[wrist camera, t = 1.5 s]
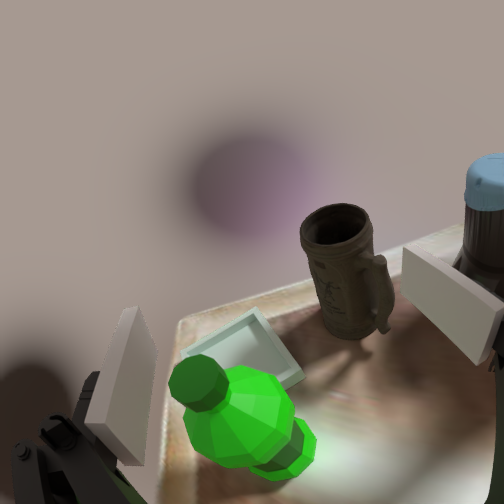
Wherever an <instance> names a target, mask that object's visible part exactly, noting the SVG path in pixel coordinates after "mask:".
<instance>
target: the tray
mask: <svg viewBox="0 0 504 504" xmlns="http://www.w3.org/2000/svg"><path fill="white" fill-rule="evenodd" d="M180 354H181V357H182V360H184V359H185V358H187V357H190V356H194V355H198V354H203V355H206V356H208V357H211V358H213V359H214V360H215V361H216V362H217V363H218V364H219V365H220V366H221V367H222V368H223V369H228V368H231V367H235V366H239V365H243V366H246V367H249V368H252V369H255V370H258V371H261V372H265V373H268V374H271V375H274V376H275V377H276V378H277V379H278V381H279V382H280V384H281V385H282V387H283V389H284V390H287V389H289V388H290V387H292V386H293V385H295V384H297V383H298V382H300V381H301V380H303V379H304V378H306V376H305V375H304V373H303V371H302V369H301V367H300V366H299V365H298V363H297V362H296V361H295V359H294V358H293V357H292V355H291V354H290V352H289V351H288V350H287V348H286V347H285V345H284V344H283V343H282V341H281V340H280V339H279V337H278V336H277V334H276V333H275V332H274V330H273V329H272V327H271V326H270V325H269V323H268V322H267V320H266V319H265V318H264V316H263V315H262V313H261V312H260V310H259V309H258V308H257V306H255V307H254V308H252V309H250V310H249V311H247V312H246V313H244V314H242V315H241V316H239V317H237V318H236V319H234V320H232V321H231V322H229V323H227V324H226V325H224V326H222V327H221V328H219V329H217V330H215V331H214V332H212V333H210V334H209V335H207V336H205V337H204V338H202V339H200V340H198V341H197V342H195V343H193V344H191V345H190V346H188V347H186V348H184V349H183V350H181V351H180Z"/></svg>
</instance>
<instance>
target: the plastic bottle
mask: <svg viewBox="0 0 504 504" xmlns="http://www.w3.org/2000/svg"><path fill="white" fill-rule="evenodd" d="M168 384H169V388H170V392H171V396H172V397H173V398H174V399H176V400H177V401H178V402H180V403H181V404H182V405H184V406H185V407H186V410H185V413H184V416H183V420H184V423H185V426H186V429H187V433H188V436H189V439H190V442H191V444H192V446H193V448H194V450H195V451H197V452H199V453H200V454H202V455H204V456H205V457H207V458H209V459H210V460H212V461H214V462H216V463H217V464H219V465H221V466H223V467H226V468H241V467H248V468H249V470H250V472H252V473H254V474H256V475H259V476H261V477H263V478H265V479H268V480H270V481H273V482H274V481H280V480H285V479H290V478H295V477H297V476H299V475H300V474H301V473H302V472H303V471H304V470H305V469H306V468H307V467H308V466H309V465H310V464H311V463H312V462H313V461H314V455H315V448H316V441H317V439H316V437H315V436H314V434H313V433H312V431H311V430H310V428H309V427H308V425H307V424H306V422H305V421H304V420H302V419H299V418H296V417H294V415H295V407H294V404H293V403H292V401H291V400H290V398H289V397H288V395H287V393H286V392H285V390H284V389H283V387H282V385H281V384H280V382H279V381H278V379H277V378H276V377H275V376H274V375H271V374H268V373H265V372H261V371H258V370H255V369H252V368H249V367H246V366H243V365H239V366H235V367H231V368H228V369H223V368H222V367H221V366H220V365H219V364H218V363H217V362H216V361H215V360H214V359H213V358H211V357H208V356H206V355H203V354H198V355H194V356H190V357H187V358H185V359H184V360H183V361H182V362H181V363H179V364H178V365H177V366H176V367H175V368H174V369H173V372H172V374H171V377H170V380H169V382H168Z"/></svg>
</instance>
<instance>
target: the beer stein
mask: <svg viewBox="0 0 504 504" xmlns="http://www.w3.org/2000/svg"><path fill="white" fill-rule="evenodd" d="M300 242H301V246H302V248H303V250H304V251H305V252H306V254H307V257H308V261H309V262H308V263H309V268H310V272H311V275H312V278H313V281H314V284H315V287H316V293H317V296H318V299H319V302H320V306H321V310H322V313H323V316H324V323H325V325H326V328H327V329H328V330H329V331H330V332H331V333H332V334H333V335H335V336H337V337H338V338H342V339H349V340H354V339H359V338H362V337H365V336H367V335H369V334H370V333H371V332H373V331H374V330H375V329H376V328H378V330H379V331H380V333H381V334H386V333H387V332H388V331H389V330H390V329H391V326H390V324H389V323H388V317H389V315H390V314H391V312H392V310H393V308H394V302H395V293H394V288H393V284H392V281H391V278H390V276H389V273H388V269H387V260H386V258H385V257H384V256H383V255H381V254H380V255H377V256H374V252H373V227H372V223H371V221H370V219H369V216H368V214H367V213H366V212H365V210H364V209H362V208H360V207H358V206H356V205H352V204H347V203H338V204H332V205H328V206H324V207H322V208H319V209H318V210H316V211H315V212H313V213H311V214H310V215H309V216H308V217H306V219H305V220H304V221H303V223H302V225H301V227H300Z"/></svg>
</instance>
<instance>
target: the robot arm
mask: <svg viewBox="0 0 504 504" xmlns="http://www.w3.org/2000/svg"><path fill="white" fill-rule="evenodd" d="M464 199H465V202H466V208H465V225H464V237H463V245H462V247H461V249H460V251H459V253H458V255H457V257H456V259H455V261H454V263H453V265H452V267H451V266H450V265H448V264H447V263H445V262H443V261H442V260H440V259H439V258H437V257H436V256H434V255H432V254H431V253H429V252H428V251H426V250H424V249H423V248H421V247H419V246H418V245H416V244H410V245H406V246H403V258H402V274H401V286H400V293H401V294H402V295H403V296H404V297H406V298H407V299H408V300H409V301H410V302H411V303H412V304H413V305H414V306H415V307H416V308H418V309H419V310H420V311H421V312H422V313H423V314H424V315H425V316H426V317H427V318H428V319H429V320H430V321H431V322H433V323H434V324H435V325H436V326H437V327H438V328H439V329H440V330H441V331H442V332H443V333H444V334H445V335H446V336H447V337H448V338H449V339H450V340H451V341H452V342H453V343H454V344H455V345H456V346H457V347H458V348H459V349H460V350H461V351H462V352H463V353H464V354H465V355H466V356H467V357H468V358H469V359H470V360H471V361H472V362H473V363H474V364H475V365H476V366H478V365H479V364H481V363H482V362H484V361H485V360H487V359H488V356H489V354H490V352H491V349H492V348H493V349H494V350H495V351H496V353H495V355H494V357H493V360H492V362H491V364H490V367H489V370H488V372H490V371H491V369H492V367H493V366H494V365H495V369H494V371H493V372H495V379H496V440H495V453H494V463H493V471H492V478H491V484H490V490H489V495H488V498H487V500H486V502H485V503H484V504H504V153H495V154H489V155H486V156H483V157H481V158H479V159H477V160H476V161H474V162H473V163H472V164H471V166H470V167H469V169H468V171H467V176H466V190H465V193H464ZM157 354H158V350H157V348H156V346H155V343H154V341H153V339H152V337H151V334H150V332H149V330H148V327H147V325H146V322H145V320H144V318H143V315H142V313H141V310H140V308H139V306H135V307H129V308H124V310H123V312H122V315H121V317H120V320H119V322H118V325H117V327H116V330H115V333H114V335H113V338H112V340H111V343H110V346H109V349H108V351H107V354H106V357H105V359H104V362H103V365H102V368H101V371H96V372H92V373H91V374H90V375H89V377H88V378H87V379H86V380H85V383H84V386H83V388H82V392H81V394H80V397H79V401H78V402H77V406H76V408H75V412H74V415H73V418H72V421H71V420H70V419H69V418H68V417H67V416H66V414H64V413H61V412H55V413H52V414H50V415H48V416H46V417H45V418H44V419H43V420H42V422H41V423H40V425H39V428H38V435H39V437H40V438H41V439H42V440H43V441H44V442H45V443H46V444H47V445H43V446H39V447H38V446H37V445H36V444H35V443H34V442H33V441H32V440H30V439H22V440H20V441H19V442H17V443H16V444H15V445H14V447H13V449H12V452H11V466H12V478H13V488H14V496H15V503H16V504H147V502H146V501H145V500H144V499H143V498H142V497H141V496H140V495H139V494H138V493H137V491H136V490H135V489H134V487H133V486H132V485H131V484H130V483H129V481H128V480H127V479H126V478H125V476H124V475H123V474H122V472H121V471H120V470H119V469H118V468H117V467H116V465H117V459H118V460H119V461H121V462H122V463H123V464H124V465H125V466H144V459H145V448H146V437H147V428H148V418H149V410H150V402H151V395H152V387H153V380H154V374H155V373H154V372H155V366H156V360H157Z"/></svg>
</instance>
